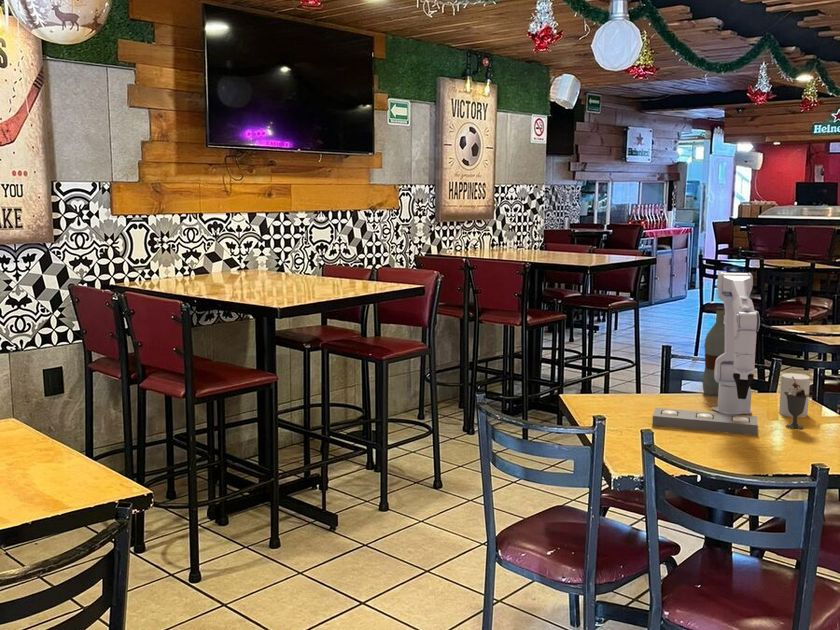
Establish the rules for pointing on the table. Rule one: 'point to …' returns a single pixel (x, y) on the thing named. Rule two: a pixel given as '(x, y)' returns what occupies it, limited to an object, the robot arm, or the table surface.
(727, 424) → the control strip
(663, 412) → the button
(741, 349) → the robot arm
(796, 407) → the sundae
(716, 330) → the bottle
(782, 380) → the cup
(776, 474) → the table surface
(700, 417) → the button mid
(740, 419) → the button
